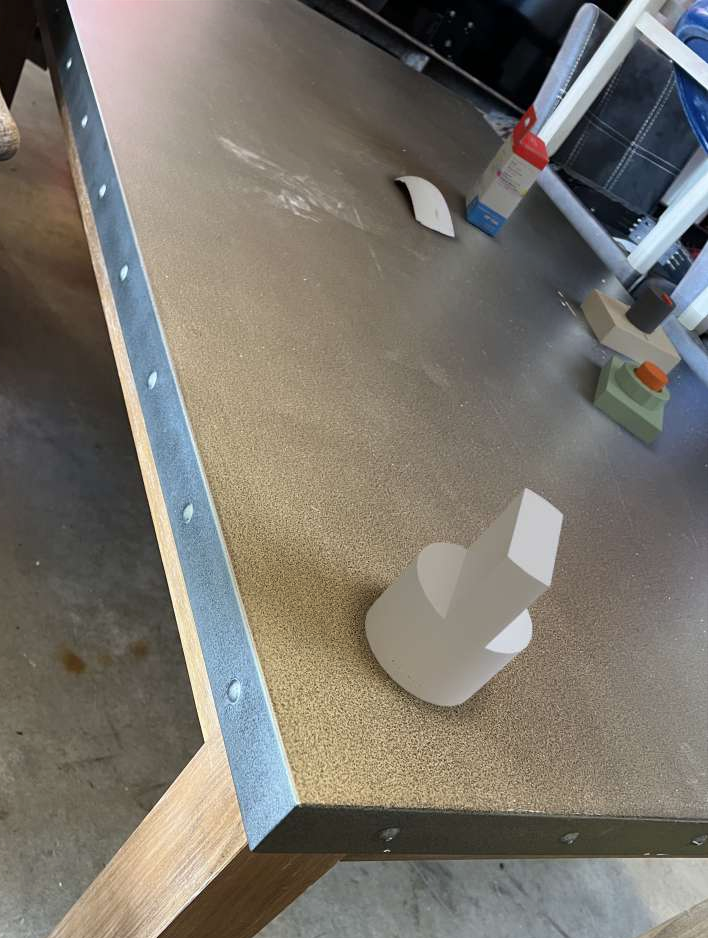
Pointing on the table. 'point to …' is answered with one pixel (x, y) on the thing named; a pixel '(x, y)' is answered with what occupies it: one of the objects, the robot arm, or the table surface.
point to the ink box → (507, 177)
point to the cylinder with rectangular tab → (466, 605)
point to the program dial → (650, 309)
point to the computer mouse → (429, 205)
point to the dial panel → (627, 332)
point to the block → (630, 399)
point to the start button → (651, 376)
